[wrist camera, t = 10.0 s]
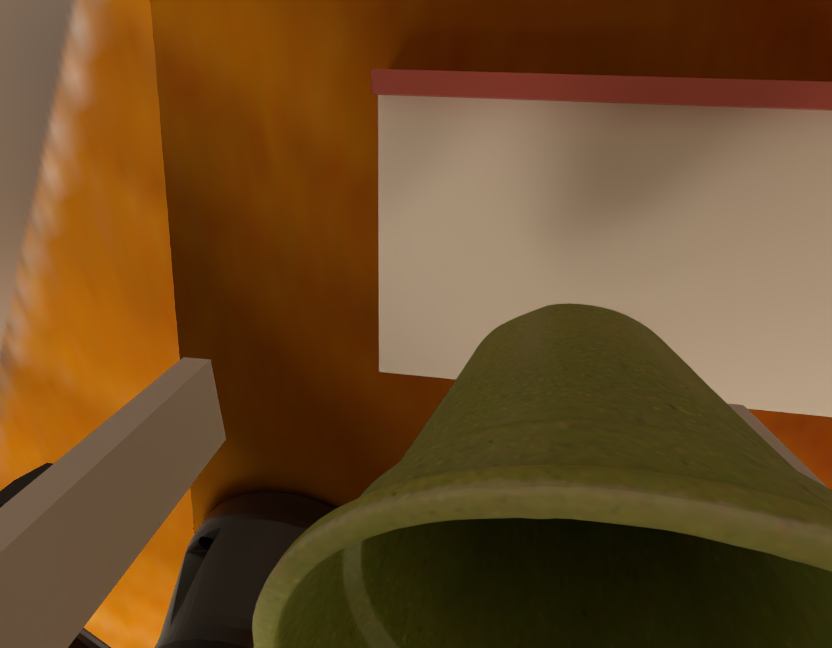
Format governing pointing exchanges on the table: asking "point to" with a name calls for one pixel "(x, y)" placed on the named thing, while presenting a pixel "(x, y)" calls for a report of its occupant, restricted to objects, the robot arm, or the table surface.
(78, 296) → the table surface
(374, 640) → the plant pot
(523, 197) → the shelf board
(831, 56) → the table surface
